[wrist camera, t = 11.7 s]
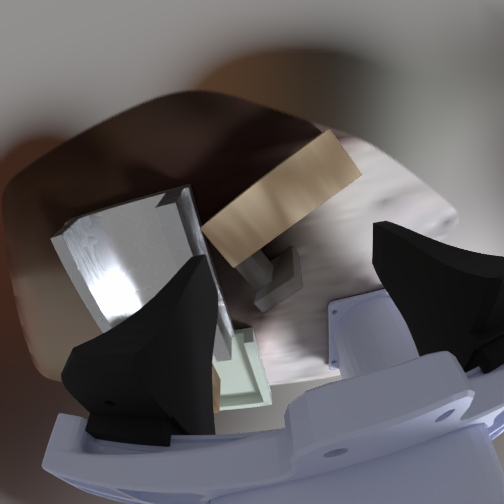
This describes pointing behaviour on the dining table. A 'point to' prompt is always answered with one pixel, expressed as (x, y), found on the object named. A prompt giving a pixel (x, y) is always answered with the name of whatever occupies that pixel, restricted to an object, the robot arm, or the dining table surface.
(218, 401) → the walnut block
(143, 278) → the silver metal tray
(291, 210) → the tan block
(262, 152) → the dining table surface
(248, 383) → the tray
